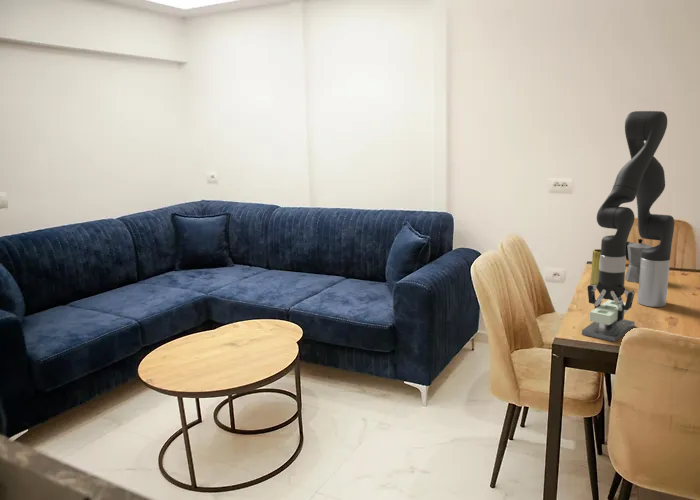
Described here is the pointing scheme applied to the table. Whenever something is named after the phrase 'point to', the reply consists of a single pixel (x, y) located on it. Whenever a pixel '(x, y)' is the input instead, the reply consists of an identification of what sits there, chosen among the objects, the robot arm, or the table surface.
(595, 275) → the vase
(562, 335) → the table surface
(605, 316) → the flange bar
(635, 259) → the coffeepot
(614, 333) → the base
